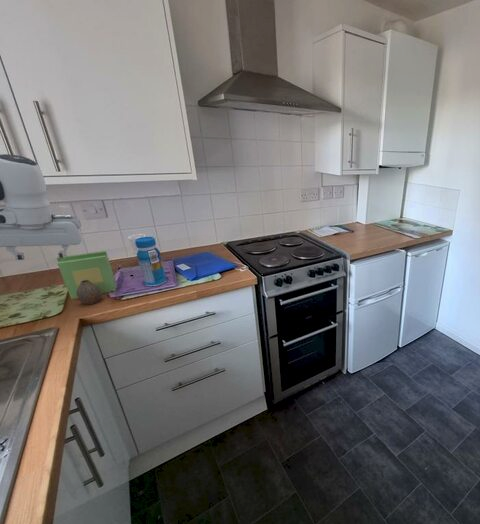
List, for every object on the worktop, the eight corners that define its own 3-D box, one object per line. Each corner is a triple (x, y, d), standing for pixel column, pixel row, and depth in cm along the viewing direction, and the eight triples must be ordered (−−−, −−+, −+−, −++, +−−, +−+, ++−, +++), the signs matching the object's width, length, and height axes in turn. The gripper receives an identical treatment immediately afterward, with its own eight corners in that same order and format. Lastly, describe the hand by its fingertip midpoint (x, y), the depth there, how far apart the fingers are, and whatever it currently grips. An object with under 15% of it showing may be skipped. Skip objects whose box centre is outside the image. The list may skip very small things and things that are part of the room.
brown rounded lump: (97, 296, 118) (90, 275, 114) (107, 300, 115) (100, 279, 112) (76, 304, 112) (68, 282, 109) (86, 308, 109) (78, 286, 106)
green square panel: (70, 299, 115) (55, 260, 109) (73, 294, 119) (58, 255, 113) (116, 291, 122) (104, 253, 116) (117, 286, 126) (106, 249, 120)
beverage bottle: (142, 288, 124) (129, 242, 117) (147, 280, 132) (135, 236, 124) (165, 285, 127) (153, 240, 119) (169, 277, 134) (158, 235, 127)
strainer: (144, 265, 147) (136, 236, 141) (131, 264, 148) (123, 235, 142) (155, 260, 153) (148, 232, 148) (143, 259, 154) (135, 231, 149)
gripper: (80, 212, 94) (88, 252, 100) (-16, 210, 84) (-2, 256, 89) (76, 218, 90) (85, 260, 95) (-27, 217, 79) (-11, 265, 84)
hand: (42, 258), depth 92 cm, fingers open, 8 cm apart
